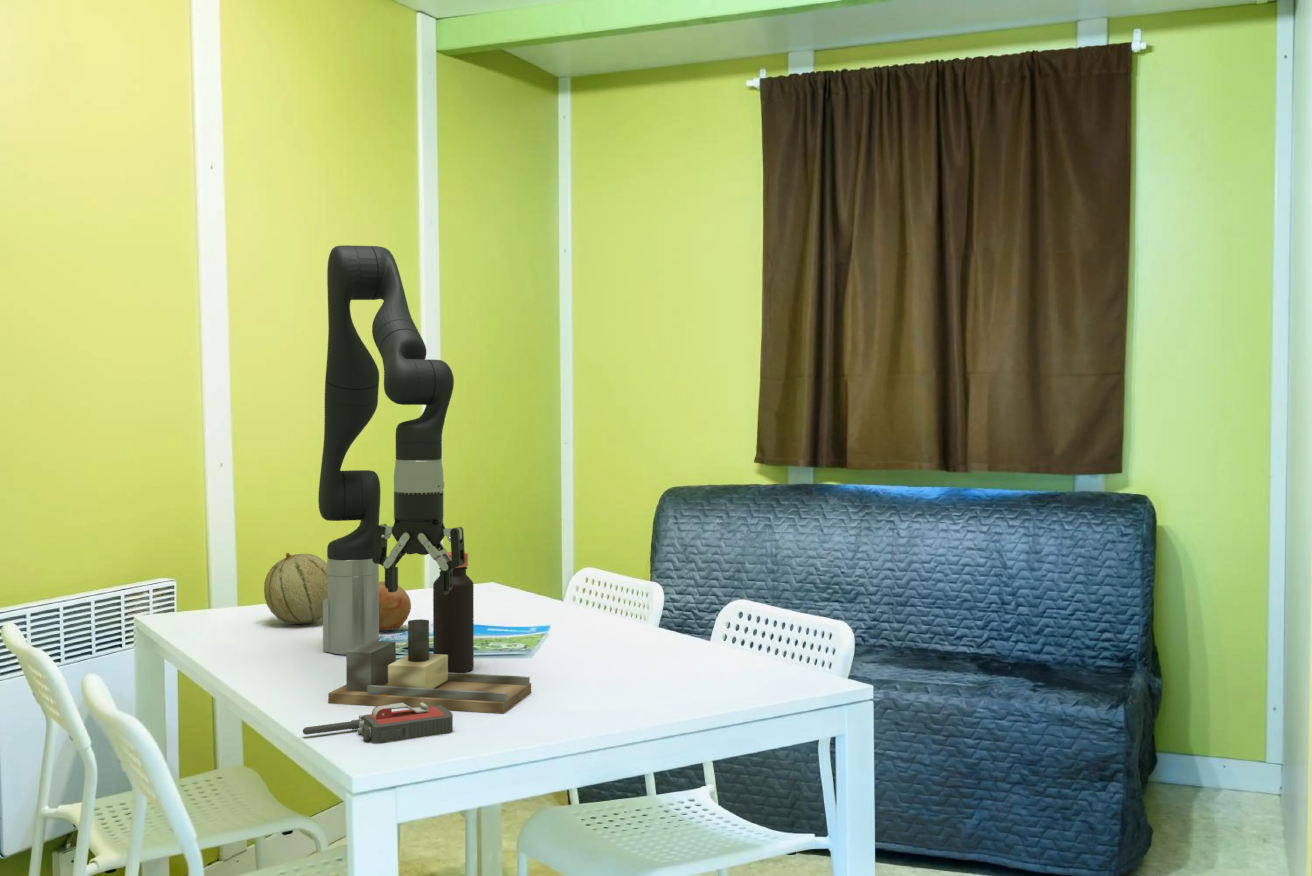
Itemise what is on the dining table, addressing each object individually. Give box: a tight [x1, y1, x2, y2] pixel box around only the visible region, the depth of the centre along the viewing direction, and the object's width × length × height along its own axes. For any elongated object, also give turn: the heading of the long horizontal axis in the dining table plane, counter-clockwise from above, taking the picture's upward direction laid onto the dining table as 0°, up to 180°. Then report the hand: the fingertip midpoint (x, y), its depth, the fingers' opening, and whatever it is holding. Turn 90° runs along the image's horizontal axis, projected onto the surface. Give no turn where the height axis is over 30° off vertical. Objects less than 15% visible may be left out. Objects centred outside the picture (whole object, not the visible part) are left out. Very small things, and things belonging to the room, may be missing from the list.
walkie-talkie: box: [302, 703, 454, 745], centre depth 162 cm, size 9×4×20 cm
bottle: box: [432, 551, 475, 673], centre depth 201 cm, size 7×7×20 cm
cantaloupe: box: [263, 552, 328, 625], centre depth 243 cm, size 15×15×15 cm
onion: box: [379, 580, 412, 632], centre depth 236 cm, size 10×10×10 cm
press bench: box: [327, 640, 532, 715], centre depth 182 cm, size 28×13×8 cm, turn 78°
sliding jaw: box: [388, 618, 448, 689], centre depth 182 cm, size 6×9×10 cm, turn 168°
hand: (418, 593), depth 182 cm, fingers open, 8 cm apart
